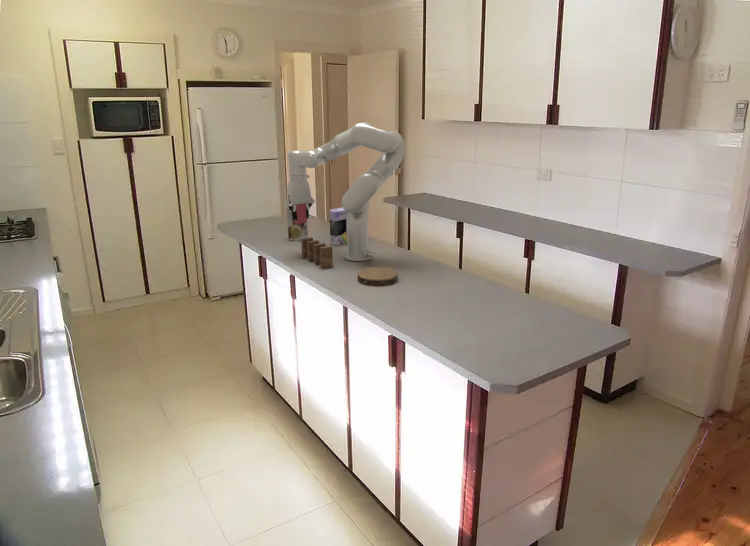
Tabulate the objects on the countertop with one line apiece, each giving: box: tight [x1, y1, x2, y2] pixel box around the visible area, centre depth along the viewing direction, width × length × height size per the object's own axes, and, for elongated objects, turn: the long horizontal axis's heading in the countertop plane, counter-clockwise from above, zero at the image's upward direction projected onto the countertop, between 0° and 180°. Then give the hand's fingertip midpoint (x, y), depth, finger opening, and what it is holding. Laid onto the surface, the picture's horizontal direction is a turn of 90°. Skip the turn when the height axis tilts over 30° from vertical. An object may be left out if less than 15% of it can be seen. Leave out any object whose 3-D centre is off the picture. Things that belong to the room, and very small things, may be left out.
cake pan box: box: [328, 206, 347, 246], centre depth 271 cm, size 19×5×18 cm, turn 131°
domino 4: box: [319, 245, 334, 270], centre depth 231 cm, size 2×5×9 cm, turn 123°
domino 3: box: [313, 242, 327, 266], centre depth 235 cm, size 2×5×9 cm, turn 123°
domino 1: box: [300, 236, 314, 260], centre depth 245 cm, size 2×5×9 cm, turn 123°
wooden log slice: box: [357, 267, 399, 287], centre depth 216 cm, size 16×16×3 cm
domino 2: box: [307, 239, 320, 263], centre depth 240 cm, size 2×5×9 cm, turn 123°
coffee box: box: [286, 208, 309, 242], centre depth 276 cm, size 9×6×16 cm
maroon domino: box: [295, 204, 308, 224], centre depth 245 cm, size 2×5×9 cm, turn 123°
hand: (300, 218), depth 246 cm, fingers closed on maroon domino, 4 cm apart
